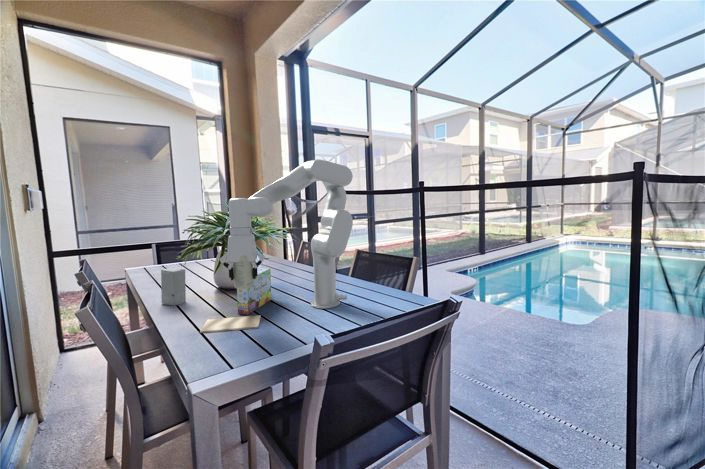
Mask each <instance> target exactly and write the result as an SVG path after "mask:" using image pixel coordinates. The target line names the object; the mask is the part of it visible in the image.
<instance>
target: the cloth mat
mask: <svg viewBox="0 0 705 469" xmlns="http://www.w3.org/2000/svg"><path fill="white" fill-rule="evenodd" d="M261 317H262V315H260V314H258V315H246V316H234V317H222V318H212V319H210V318H207V320H206V322H205V323H204V324H203V326H202V328H200V330H199V333H200V334H205V333H216V332H226V331H227V332H228V331H238V330H249V329H259V328H260V322H261Z"/></svg>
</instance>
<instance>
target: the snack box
mask: <svg viewBox="0 0 705 469" xmlns="http://www.w3.org/2000/svg"><path fill="white" fill-rule="evenodd" d="M257 273H258V276H256V279H254V287H251V288H249V289H239V288H236V291H237V292H236V295H237V297H236V299H237V300H236V301H237V314H239V315H246V316H249V315H250V314H252V313H253V312H255V311H256V310H258V309H259V308H261V307H262V306H264V305H265V304H266V303H268V302H270V301H271V300H272V289H271V288H272V287H271V286H272V285H271V284H272V282H271V268H266V267H260V268H257Z"/></svg>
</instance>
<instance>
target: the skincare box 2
mask: <svg viewBox="0 0 705 469" xmlns="http://www.w3.org/2000/svg"><path fill="white" fill-rule="evenodd" d="M232 267H233V276H234V279H233V284H234V288H235V289H237V288H239V289H249V288H251V287H254V279H253V267H254V266H253V265H252V263H251V262H248V258H247V256H242V257H240V261H239V263H234V264H233V266H232Z"/></svg>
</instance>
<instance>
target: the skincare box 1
mask: <svg viewBox="0 0 705 469" xmlns="http://www.w3.org/2000/svg"><path fill="white" fill-rule="evenodd" d="M160 273H161V274H160V275H161V277H160V279H161V282H160V283H161V285H160V286H161V288H160V290H161V304H162V305H166V306H178V305H181V304H185V303H186V302H187V300H186V299H187V298H186V297H187V296H186V294H187V293H186V289H187V288H186V269H184V268H180V267H179V268H178V267H170V268H163V269H160Z"/></svg>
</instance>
